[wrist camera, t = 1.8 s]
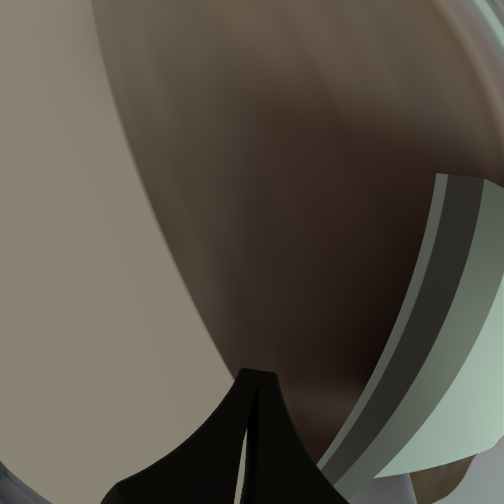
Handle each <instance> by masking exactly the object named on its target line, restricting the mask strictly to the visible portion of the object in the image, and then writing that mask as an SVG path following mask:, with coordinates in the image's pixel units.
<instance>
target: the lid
mask: <svg viewBox="0 0 504 504" xmlns="http://www.w3.org/2000/svg"><path fill="white" fill-rule="evenodd" d="M503 435H504V188H502V187H500V186H498V185H496V184H495V183H493V182H491V181H489V180H487V179H485V178H477V177H469V176H459V175H449V174H436V180H435V186H434V192H433V197H432V202H431V207H430V212H429V217H428V221H427V225H426V230H425V234H424V238H423V241H422V245H421V249H420V252H419V256H418V259H417V263H416V266H415V269H414V273H413V276H412V279H411V282H410V285H409V288H408V291H407V294H406V296H405V299H404V302H403V305H402V307H401V310H400V313H399V315H398V318H397V320H396V323H395V325H394V328H393V330H392V332H391V335H390V337H389V339H388V342H387V344H386V346H385V348H384V351H383V353H382V355H381V357H380V359H379V361H378V363H377V366H376V368H375V370H374V372H373V374H372V376H371V378H370V379H369V381H368V383H367V385H366V387H365V389H364V391H363V393H362V395H361V396H360V398H359V400H358V402H357V403H356V405H355V407H354V409H353V410H352V412H351V414H350V415H349V417H348V419H347V420H346V422H345V424H344V425H343V427H342V428H341V430H340V432H339V433H338V435H337V436H336V438H335V439H334V441H333V442H332V444H331V445H330V447H329V448H328V450H327V451H326V452H325V454H324V455H323V457H322V458H321V459H320V461H319V462H318V463H317V467H318V468H319V469H320V471H321V472H322V473H323V474H324V476H325V477H326V478H327V479H328V481H329V482H330V483H331V484H332V485H333V487H334V488H335V489H336V490H337V491H338V492H339V493H340V494H341V495H342V496H343V497H344V498H345V499H346V500H347V501H348V500H349V499H350V498H351V497H352V496H354V495H355V494H356V493H357V492H358V491H360V490H361V489H362V488H363V487H364V486H365V485H366V484H368V483H369V482H370V481H371V480H372V479H373V478H378V477H386V476H393V475H399V474H404V473H409V472H414V471H419V470H424V469H428V468H432V467H436V466H440V465H443V464H447V463H450V462H453V461H457V460H460V459H463V458H466V457H469V456H472V455H474V454H477V453H479V452H482V451H485V450H487V449H490V448H492V447H493V446H494V445H495V444H496V443H497V442H498V440H499V439H500V438H501V437H502V436H503Z"/></svg>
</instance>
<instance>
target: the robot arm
mask: <svg viewBox="0 0 504 504" xmlns="http://www.w3.org/2000/svg"><path fill="white" fill-rule="evenodd" d="M246 430H247V442H246V459H245V474H244V483H243V488H242V494H241V499H240V504H417V502H416V498H415V494H414V490H413V486H412V483H411V479H410V475H409V473H404V474H399V475H393V476H386V477H378V478H373V479H372V480H371V481H370V482H369V483H368V484H366V485H365V486H364V487H363V488H362V489H361V490H360V491H358V492H357V493H356V494H355V495H354V496H352V497H351V498H350V499H349V500H348V501H347V500H346V499H345V498H344V497H343V496H342V495H341V494H340V493H339V492H338V491H337V490H336V489H335V488H334V487H333V485H332V484H331V483H330V482H329V481H328V479H327V478H326V477H325V476H324V474H323V473H322V472H321V471H320V469H319V468H318V467H317V465H316V464H315V462H314V461H313V459H312V458H311V456H310V455H309V453H308V451H307V450H306V448H305V446H304V444H303V443H302V441H301V439H300V437H299V435H298V433H297V431H296V429H295V427H294V425H293V422H292V420H291V418H290V415H289V413H288V410H287V408H286V405H285V402H284V399H283V396H282V393H281V389H280V385H279V381H278V376H277V374H276V373H272V372H265V371H259V370H253V369H247V368H242V369H240V370H239V373H238V375H237V378H236V380H235V382H234V383H233V386H232V387H231V388H230V390H229V392H228V393H227V395H226V396H225V397H224V399H223V400H222V402H221V403H220V404H219V406H218V407H217V408H216V409H215V411H214V412H213V413H212V414H211V415H210V417H209V418H208V419H207V420H206V421H205V422H204V423H203V424H202V425H201V426H200V427H199V429H197V430H196V431H195V432H194V433H193V434H192V435H191V436H190V437H189V438H188V439H187V440H185V441H184V442H183V443H182V444H181V445H179V446H178V447H177V448H176V449H174V450H173V451H172V452H170V453H169V454H168V455H166V456H165V457H163V458H162V459H160V460H159V461H157V462H155V463H154V464H152V465H151V466H149V467H147V468H146V469H144V470H142V471H140V472H138V473H136V474H134V475H132V476H130V477H128V478H126V479H124V480H122V481H120V482H118V483H116V484H115V485H114V486H113V487H112V488H111V490H110V491H109V492H108V493H107V494H106V496H105V497H104V498H103V500H102V502H101V504H234V499H235V492H236V485H237V478H238V472H239V465H240V459H241V452H242V446H243V440H244V436H245V433H246ZM0 504H52V503H50V502H49V501H47V500H46V499H44V498H43V497H41V496H40V495H39V494H38V493H36V492H35V491H34V490H32V489H31V488H30V487H28V486H27V485H26V484H25V483H23V482H22V481H21V480H20V479H18V478H17V477H16V476H15V475H14V474H13V473H11V472H10V471H9V470H8V469H7V468H6V467H5V465H4V464H3V463H2V462H1V461H0Z"/></svg>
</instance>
